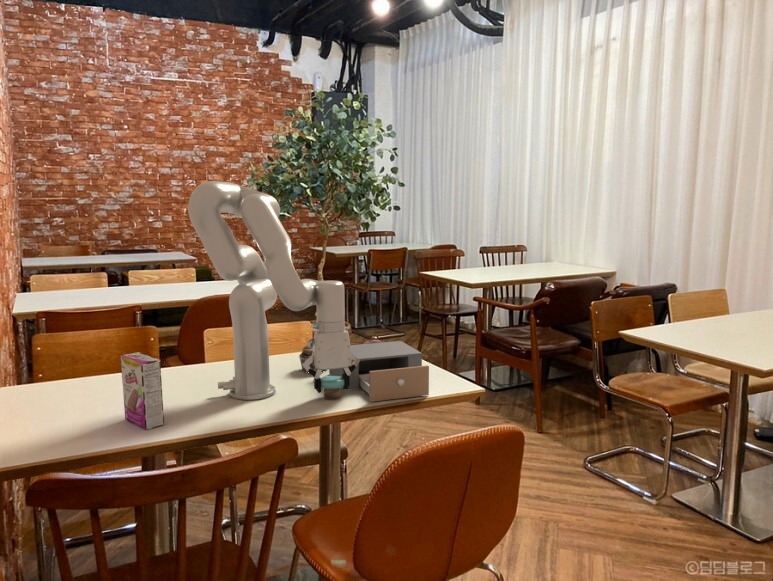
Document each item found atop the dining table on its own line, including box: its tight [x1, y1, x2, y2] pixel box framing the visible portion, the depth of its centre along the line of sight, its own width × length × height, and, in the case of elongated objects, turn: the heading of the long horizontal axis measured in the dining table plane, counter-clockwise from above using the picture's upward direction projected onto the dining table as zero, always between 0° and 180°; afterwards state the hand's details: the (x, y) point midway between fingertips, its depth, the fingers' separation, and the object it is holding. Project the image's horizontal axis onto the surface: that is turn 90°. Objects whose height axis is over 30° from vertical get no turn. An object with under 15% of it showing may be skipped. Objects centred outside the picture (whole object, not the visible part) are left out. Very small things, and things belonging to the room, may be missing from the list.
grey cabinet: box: [328, 340, 423, 391], centre depth 184 cm, size 17×24×9 cm
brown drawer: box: [359, 364, 430, 402], centre depth 171 cm, size 18×17×8 cm
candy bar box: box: [120, 351, 165, 430], centre depth 146 cm, size 11×5×16 cm, turn 48°
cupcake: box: [298, 337, 326, 373], centre depth 193 cm, size 10×10×10 cm
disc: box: [320, 375, 345, 389], centre depth 166 cm, size 7×7×2 cm
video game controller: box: [363, 339, 386, 344], centre depth 211 cm, size 10×5×7 cm, turn 85°
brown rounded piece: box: [323, 388, 341, 401], centre depth 166 cm, size 4×4×4 cm
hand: (332, 389), depth 166 cm, fingers closed on disc, 6 cm apart
